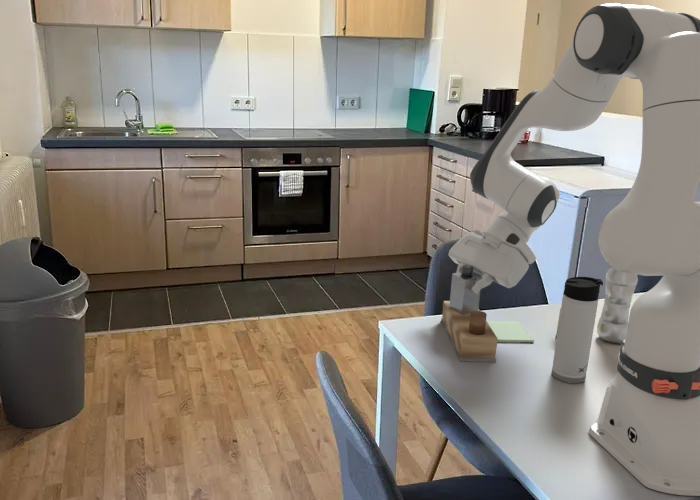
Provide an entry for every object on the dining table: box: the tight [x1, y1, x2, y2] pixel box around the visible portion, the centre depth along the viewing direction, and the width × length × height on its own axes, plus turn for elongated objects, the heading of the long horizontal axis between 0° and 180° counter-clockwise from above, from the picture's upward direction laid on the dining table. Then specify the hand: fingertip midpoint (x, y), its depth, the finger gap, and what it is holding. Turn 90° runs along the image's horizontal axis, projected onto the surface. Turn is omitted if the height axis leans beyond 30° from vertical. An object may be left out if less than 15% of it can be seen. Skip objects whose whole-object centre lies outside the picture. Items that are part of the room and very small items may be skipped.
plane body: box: [440, 300, 498, 363], centre depth 136 cm, size 21×7×9 cm, turn 3°
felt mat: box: [486, 320, 535, 344], centre depth 142 cm, size 10×10×1 cm
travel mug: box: [551, 276, 604, 384], centre depth 120 cm, size 6×7×20 cm
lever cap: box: [449, 265, 482, 315], centre depth 139 cm, size 4×4×10 cm
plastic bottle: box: [596, 266, 639, 344], centre depth 137 cm, size 6×7×20 cm
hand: (463, 287), depth 139 cm, fingers closed on lever cap, 4 cm apart
